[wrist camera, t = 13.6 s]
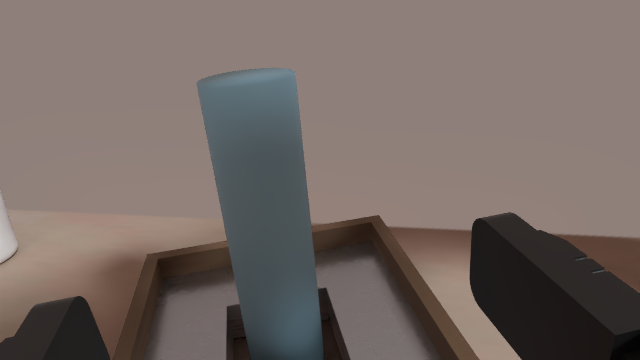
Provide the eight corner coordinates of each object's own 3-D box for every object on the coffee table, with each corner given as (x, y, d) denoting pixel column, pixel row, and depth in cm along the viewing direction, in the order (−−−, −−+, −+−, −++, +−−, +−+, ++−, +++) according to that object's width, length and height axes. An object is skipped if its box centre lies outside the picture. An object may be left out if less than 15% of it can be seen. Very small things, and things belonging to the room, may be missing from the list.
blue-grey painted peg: (318, 334, 26) (288, 65, 20) (332, 388, 22) (302, 79, 16) (252, 348, 26) (199, 75, 19) (255, 406, 22) (192, 92, 16)
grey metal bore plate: (373, 270, 32) (371, 240, 31) (473, 458, 19) (477, 418, 18) (171, 307, 30) (163, 277, 29) (125, 549, 17) (107, 509, 16)
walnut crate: (380, 262, 32) (378, 215, 31) (501, 472, 18) (510, 404, 16) (161, 302, 30) (147, 254, 29) (97, 581, 16) (62, 513, 14)
